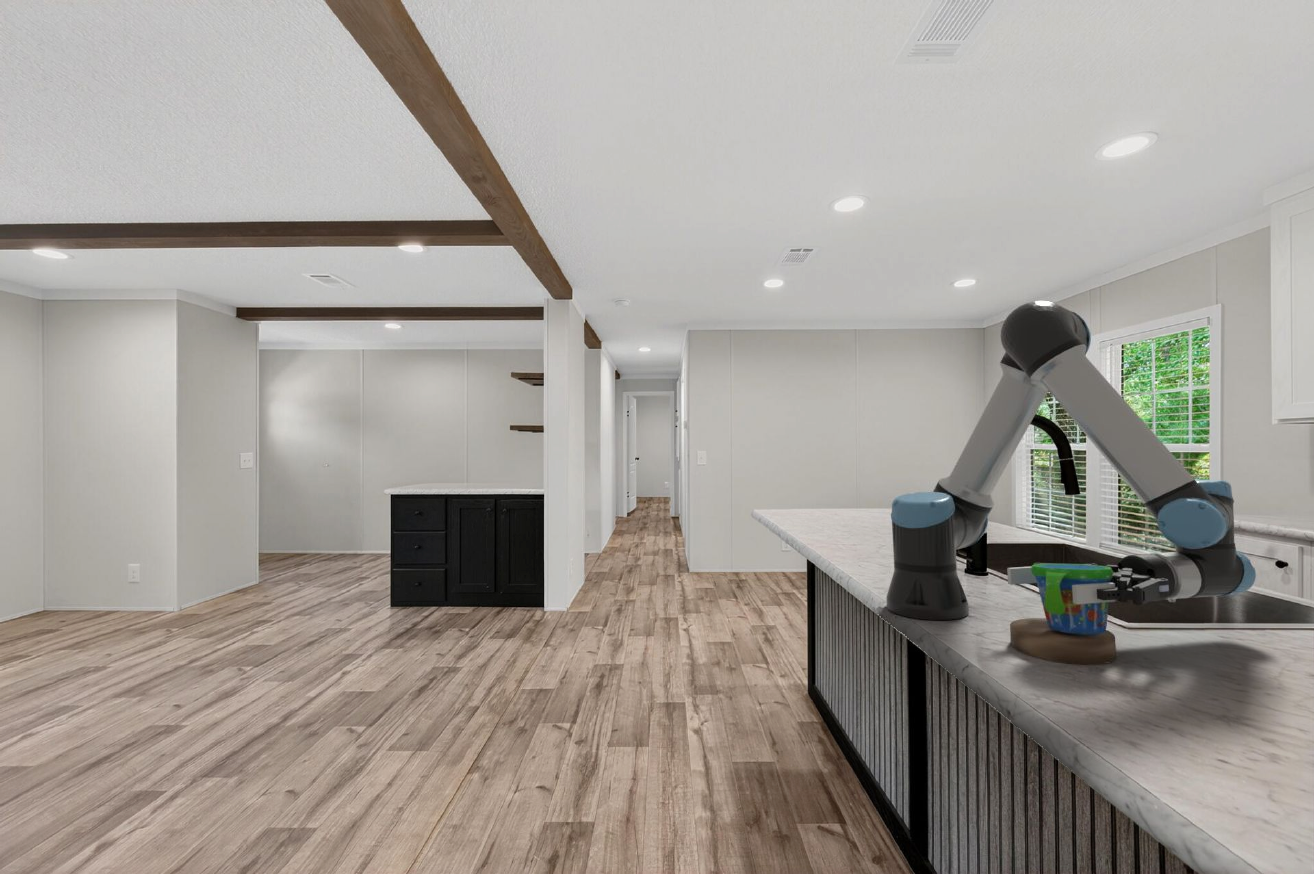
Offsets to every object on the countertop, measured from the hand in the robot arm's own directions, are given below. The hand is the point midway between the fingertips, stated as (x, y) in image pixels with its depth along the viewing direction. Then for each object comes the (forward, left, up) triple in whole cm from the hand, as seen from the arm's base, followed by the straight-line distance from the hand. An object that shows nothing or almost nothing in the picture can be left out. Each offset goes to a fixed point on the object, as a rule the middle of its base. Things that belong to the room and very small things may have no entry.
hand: (1039, 584), depth 96 cm
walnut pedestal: (0, +3, -11) cm, 11 cm away
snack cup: (+2, +4, -7) cm, 9 cm away
